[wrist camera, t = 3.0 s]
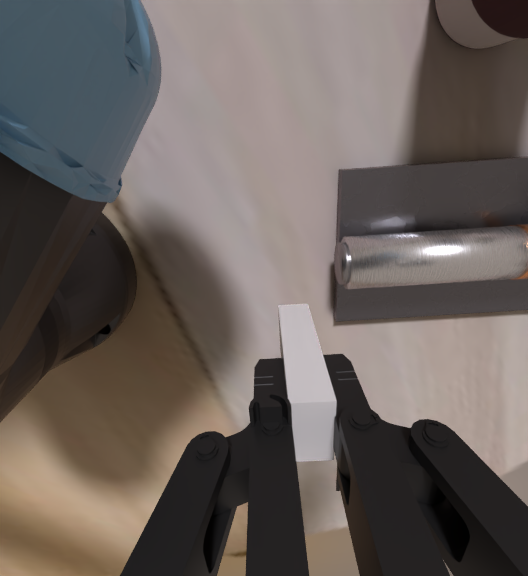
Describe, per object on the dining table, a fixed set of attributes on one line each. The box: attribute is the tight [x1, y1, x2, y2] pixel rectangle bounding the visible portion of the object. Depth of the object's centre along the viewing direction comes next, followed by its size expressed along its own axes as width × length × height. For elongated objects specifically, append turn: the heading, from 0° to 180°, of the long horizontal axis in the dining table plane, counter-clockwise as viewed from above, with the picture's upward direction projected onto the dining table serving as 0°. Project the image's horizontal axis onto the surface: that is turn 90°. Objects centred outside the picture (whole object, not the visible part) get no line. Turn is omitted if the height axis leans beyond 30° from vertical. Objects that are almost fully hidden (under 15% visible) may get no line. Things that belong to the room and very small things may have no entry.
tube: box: [334, 224, 528, 289], centre depth 23 cm, size 18×4×4 cm, turn 94°
